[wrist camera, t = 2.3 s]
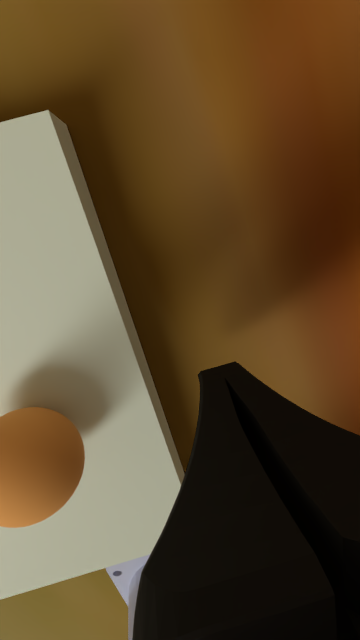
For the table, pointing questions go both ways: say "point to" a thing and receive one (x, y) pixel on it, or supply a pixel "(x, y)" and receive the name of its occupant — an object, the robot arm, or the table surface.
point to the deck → (75, 365)
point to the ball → (37, 465)
